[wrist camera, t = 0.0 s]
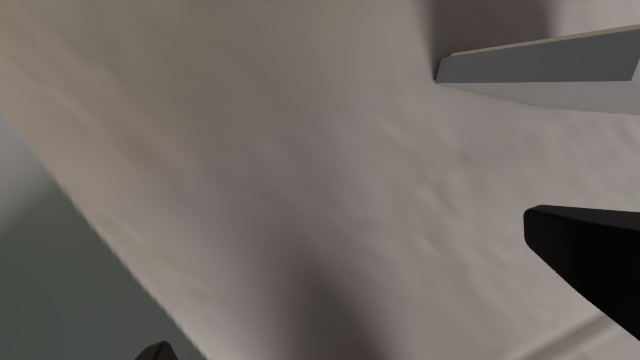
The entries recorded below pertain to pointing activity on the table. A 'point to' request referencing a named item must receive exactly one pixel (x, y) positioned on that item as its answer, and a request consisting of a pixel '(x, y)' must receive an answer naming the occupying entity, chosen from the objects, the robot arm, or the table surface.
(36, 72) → the table surface
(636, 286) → the robot arm
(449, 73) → the grey tile
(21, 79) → the table surface
